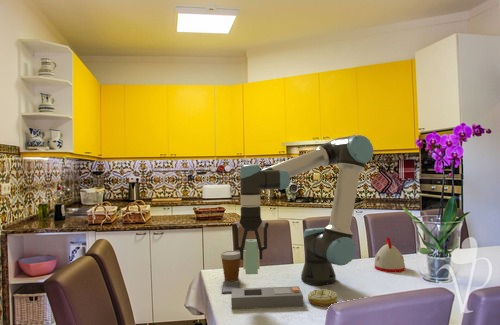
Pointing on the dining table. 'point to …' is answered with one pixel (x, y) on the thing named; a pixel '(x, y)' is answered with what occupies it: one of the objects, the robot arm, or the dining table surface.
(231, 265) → the disposable coffee cup
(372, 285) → the dining table surface
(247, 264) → the pale green tall block
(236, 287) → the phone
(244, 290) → the power strip
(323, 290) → the yellow flat round piece
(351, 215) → the robot arm
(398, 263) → the kitchen timer
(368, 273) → the dining table surface
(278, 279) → the dining table surface
